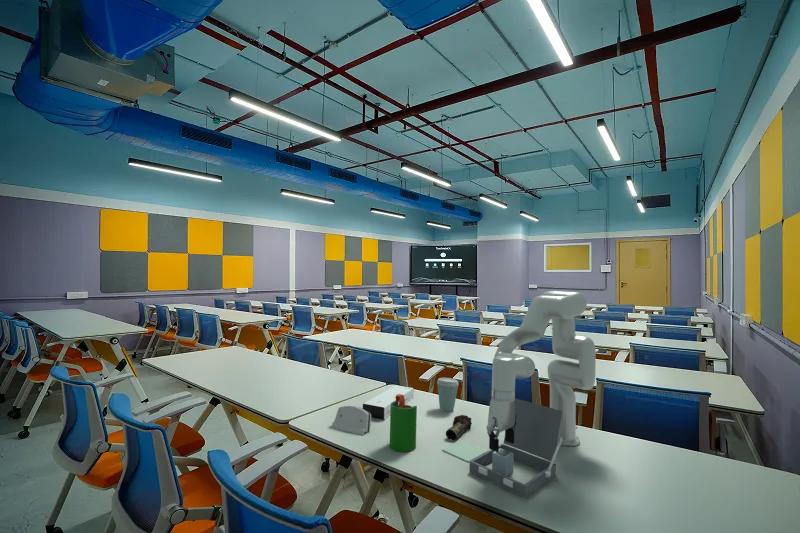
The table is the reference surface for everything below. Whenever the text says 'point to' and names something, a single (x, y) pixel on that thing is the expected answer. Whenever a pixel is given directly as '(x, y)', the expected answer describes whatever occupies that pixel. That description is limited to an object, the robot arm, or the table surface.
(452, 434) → the brown rough-headed cylinder
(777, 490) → the table surface
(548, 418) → the lid
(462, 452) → the mat
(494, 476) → the case
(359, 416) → the hinge
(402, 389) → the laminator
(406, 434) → the motor
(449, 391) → the disposable coffee cup
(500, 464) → the module
